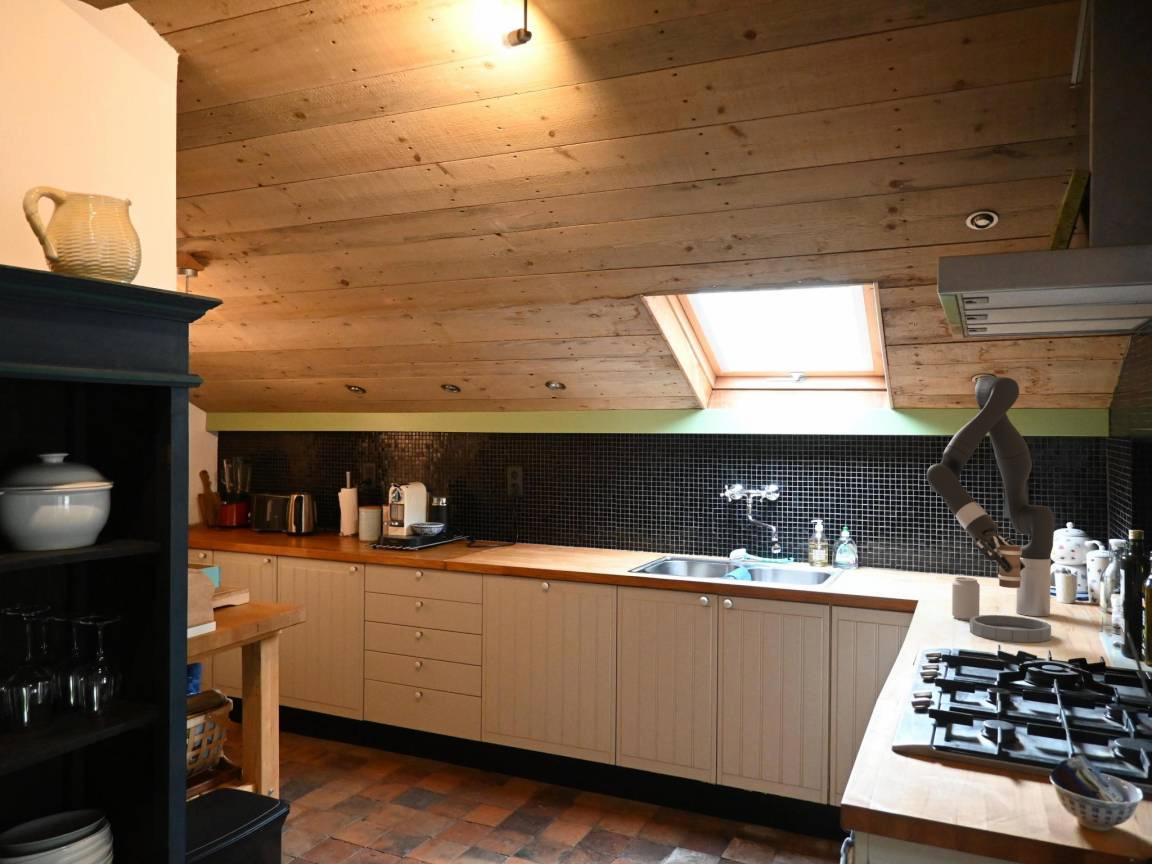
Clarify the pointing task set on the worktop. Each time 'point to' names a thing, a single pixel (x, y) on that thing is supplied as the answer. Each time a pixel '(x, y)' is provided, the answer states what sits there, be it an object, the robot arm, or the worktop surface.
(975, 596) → the wide mouth jar
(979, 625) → the round tray
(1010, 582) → the brown banded canister
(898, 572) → the worktop surface
